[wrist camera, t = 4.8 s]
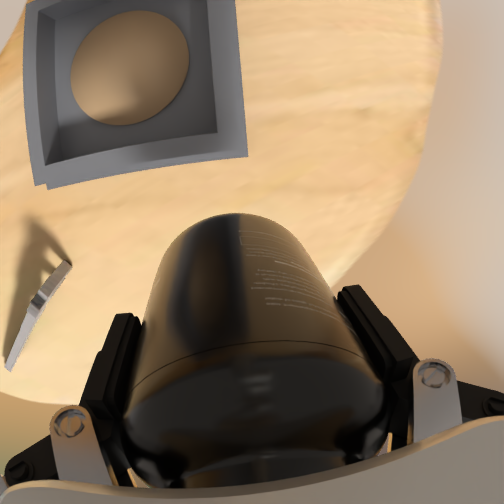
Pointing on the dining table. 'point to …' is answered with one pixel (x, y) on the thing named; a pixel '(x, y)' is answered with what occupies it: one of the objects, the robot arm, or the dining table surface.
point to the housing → (130, 86)
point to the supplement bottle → (247, 365)
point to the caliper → (37, 310)
